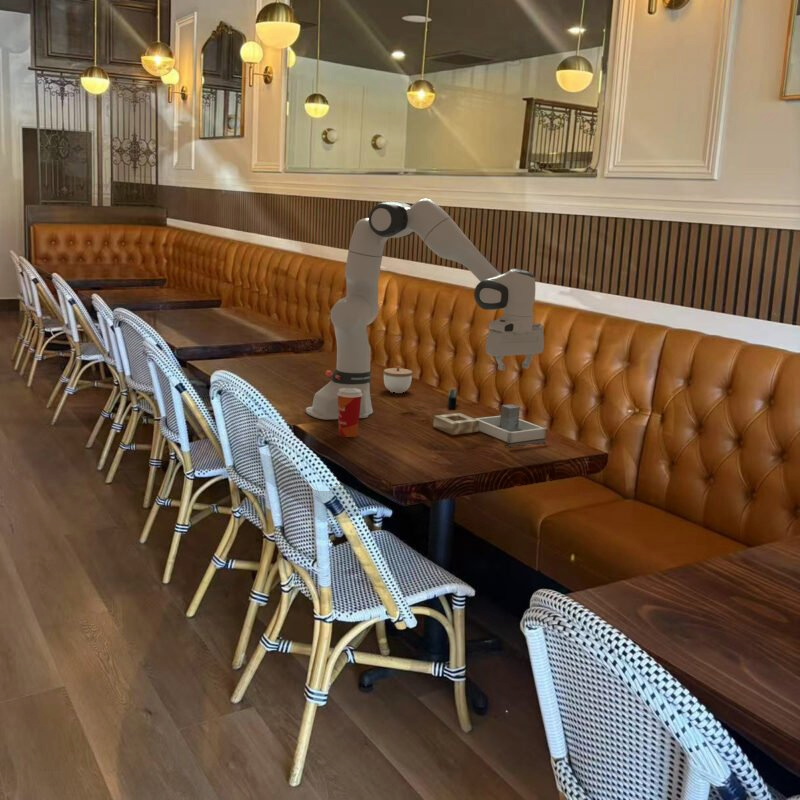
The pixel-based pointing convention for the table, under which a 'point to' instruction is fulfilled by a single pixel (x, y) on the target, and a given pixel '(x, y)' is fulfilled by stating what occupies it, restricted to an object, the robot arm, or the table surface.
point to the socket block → (456, 423)
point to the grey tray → (527, 433)
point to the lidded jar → (397, 379)
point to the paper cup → (349, 411)
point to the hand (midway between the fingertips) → (513, 369)
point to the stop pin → (509, 417)
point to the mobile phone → (452, 399)
